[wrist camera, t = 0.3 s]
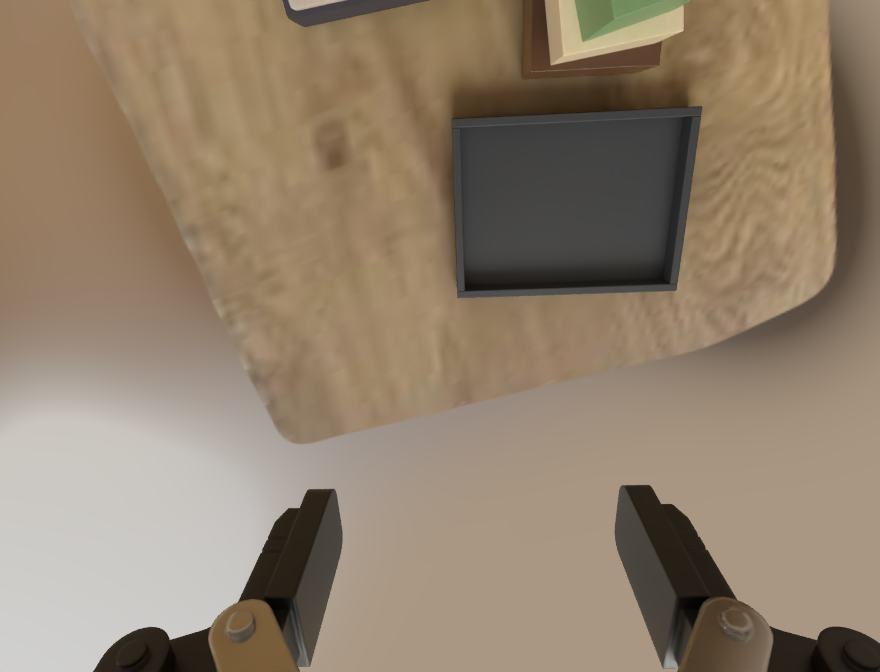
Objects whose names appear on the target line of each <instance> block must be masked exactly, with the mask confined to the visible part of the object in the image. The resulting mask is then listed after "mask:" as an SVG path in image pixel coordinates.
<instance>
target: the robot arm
mask: <svg viewBox="0 0 880 672" xmlns="http://www.w3.org/2000/svg"><path fill="white" fill-rule="evenodd" d="M615 540H616V546H617V550H618V553H619V556H620V558H621V561H622V563H623V566H624V569H625V571H626V573H627V576H628V579H629V582H630V584H631V586H632V589H633V592H634V595H635V597H636V600H637V602H638V605H639V608H640V610H641V613H642V615H643V618H644V621H645V623H646V626H647V628H648V631H649V634H650V636H651V639H652V641H653V644H654V647H655V649H656V651H657V654H658V657H659V660H660V662H661V665H662V667H663V668H664V669H667V668H669V669H675V668H676V669H677V668H678V672H880V643H878V642H877V641H875V640H874V639H872V638H870V637H869V636H867V635H865V634H863V633H860V632H858V631H855V630H852V629H849V628H845V627H829V628H826V629H824V630H823V631H822V632H821V633H820V634H819V636H818V639H817V640H814V639H810V638H806V637H803V636H799V635H796V634H792V633H788V632H784V631H781V630H778V629H775V628H773V627H771V626H769V625H768V623H767V622H766V621H765V619H764V618H763V617H762V616H761V615H760V614H759V613H758V612H757V611H755V610H754V609H753V608H751V607H750V606H748V605H746V604H745V603H743V602H741V601H738V600H737V599H736V597H735V595H734V594H733V592H732V590H731V589H730V587H729V585H728V584H727V582H726V581H725V579H724V577H723V575H722V574H721V572H720V570H719V569H718V567H717V565H716V564H715V562H714V560H713V559H712V557H711V555H710V554H709V552H708V550H706V549H705V545H704V544H703V542H702V540H701V539H700V537H698V534H697V532H696V530H695V529H694V527H693V525H692V524H691V522H690V520H689V519H688V517H687V516H685V515H684V514H683V513H682V512H681V511H679V510H678V509H677V508H676V507H675V506H674V505H672V504H661V503H660V501H659V499H658V498H657V496H656V494H655V492H654V490H653V489H652V487H651V486H650V485H625V486H624V485H622V486H621V487H620V490H619V497H618V505H617V514H616V523H615ZM341 549H342V526H341V519H340V513H339V506H338V500H337V494H336V491H335V489H309V490H307V492H306V494H305V496H304V499H303V501H302V504H301V506H300V508H288V510H286V512H285V513H283V515H282V516H280V518H279V519H278V520H277V521H276V522H275V523H274V526H273V528H272V530H271V532H270V534H269V536H268V540H267V541H266V543H265V545H264V547H263V549H262V553H261V554H260V556H259V558H258V560H257V562H256V565H255V567H254V569H253V571H252V573H251V576H250V578H249V580H248V582H247V584H246V586H245V588H244V591H243V593H242V595H241V597H240V599H239V601H238V603H236V604H233V605H232V606H230V607H228V608H227V609H226V610H224V611H223V612H222V613H221V614H220V615H219V616H218V617H217V618H216V619H215V621H214V623H213V624H212V626H211V627H209V628H207V629H205V630H202V631H199V632H195V633H192V634H189V635H185V636H182V637H179V638H176V639H172V640H169V637H168V635H167V633H166V632H165V631H164V630H162V629H160V628H156V627H147V628H143V629H138V630H136V631H133V632H131V633H130V634H127V635H126V636H124V637H122V638H121V639H120V640H118V641H117V642H116V643H114V644H113V645H112V646H111V647H110V648H109V649H108V650H107V652H106V653H105V654H104V655H103V657H102V658H101V660H100V662H99V663H98V665H97V667H96V668H95V670H94V671H93V672H300V671H299V669H298V667H310V665H311V661H312V657H313V654H314V650H315V646H316V643H317V639H318V635H319V631H320V628H321V624H322V621H323V617H324V613H325V610H326V606H327V602H328V598H329V595H330V591H331V587H332V584H333V580H334V576H335V573H336V569H337V565H338V561H339V558H340V554H341Z"/></svg>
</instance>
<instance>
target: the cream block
mask: <svg viewBox="0 0 880 672" xmlns="http://www.w3.org/2000/svg"><path fill="white" fill-rule="evenodd" d="M545 8H546V19H547V30H548V41H549V52H550V63H551V65H555V64H559V63H564V62H569V61H574V60H578V59H583V58H588V57H593V56H597V55H602V54H607V53H612V52H616V51H621V50H626V49H631V48H635V47H640V46H645V45H650V44H654V43H657V42H660V41H662V40H664V39H666V38H668V37H671V36H673V35H675V34H677V33H680V32H682V31H683V30H684V14H683V5H682V6H681V7H679V8H677V9H675V10H673V11H670V12H667V13H664V14H662V15H659V16H656V17H653V18H650V19H647V20H645V21H642V22H639V23H636V24H633V25H631V26H628V27H625V28H622V29H619V30H616V31H614V32H611V33H608V34H605V35H602V36H599V37H597V38H594V39H591V40H588V41H585V42H582V37H581V32H580V26H579V21H578V15H577V10H576V5H575V0H545Z"/></svg>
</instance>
